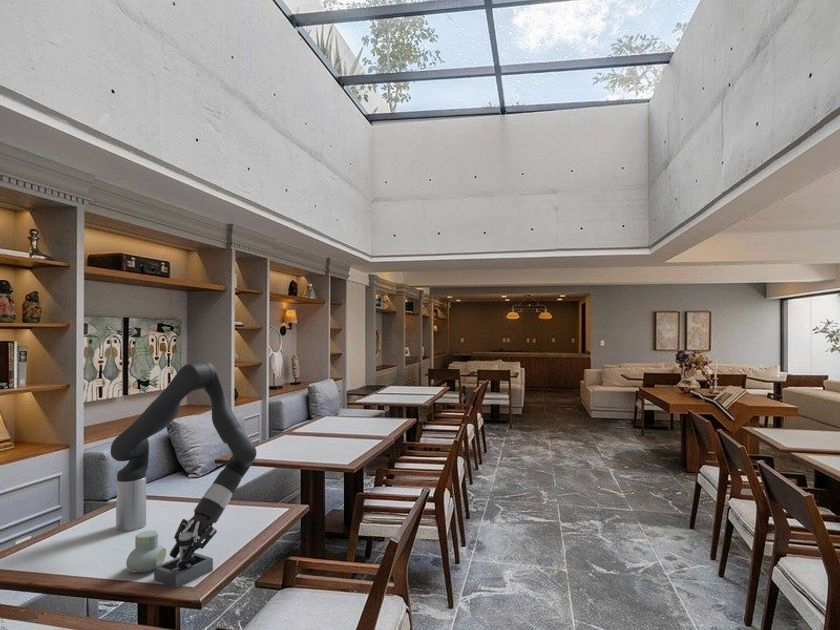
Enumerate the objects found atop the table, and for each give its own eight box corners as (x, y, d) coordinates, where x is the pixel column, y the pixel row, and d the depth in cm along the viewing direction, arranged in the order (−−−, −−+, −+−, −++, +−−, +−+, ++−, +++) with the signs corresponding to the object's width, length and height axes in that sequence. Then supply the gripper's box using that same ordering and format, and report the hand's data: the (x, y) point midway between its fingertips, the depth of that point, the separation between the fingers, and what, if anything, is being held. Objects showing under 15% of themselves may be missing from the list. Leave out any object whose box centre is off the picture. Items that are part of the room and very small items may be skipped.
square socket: (153, 580, 145) (153, 567, 145) (191, 563, 155) (191, 551, 155) (175, 588, 140) (175, 575, 140) (212, 570, 150) (212, 558, 150)
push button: (178, 577, 143) (177, 541, 144) (167, 573, 146) (167, 537, 147) (200, 568, 149) (199, 533, 149) (189, 564, 152) (189, 529, 152)
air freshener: (153, 576, 147) (153, 540, 148) (123, 577, 147) (123, 542, 147) (168, 559, 158) (168, 526, 158) (140, 560, 157) (140, 527, 158)
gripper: (190, 493, 158) (153, 548, 147) (222, 500, 151) (185, 558, 140) (206, 505, 162) (170, 559, 152) (237, 512, 155) (202, 570, 144)
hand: (178, 558), depth 146 cm, fingers closed on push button, 4 cm apart
